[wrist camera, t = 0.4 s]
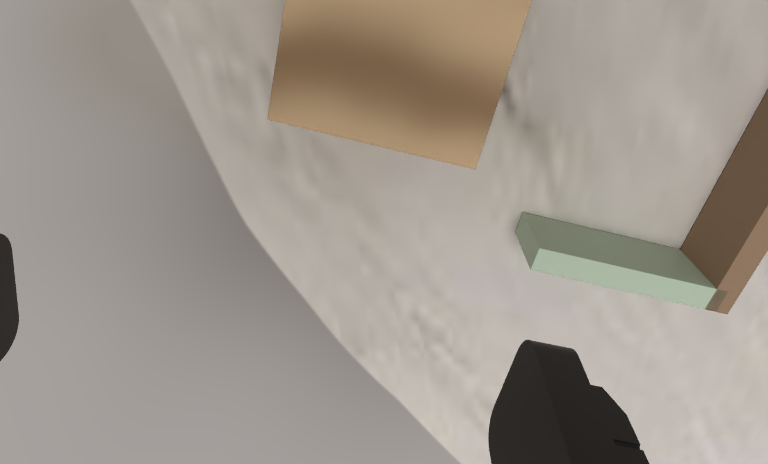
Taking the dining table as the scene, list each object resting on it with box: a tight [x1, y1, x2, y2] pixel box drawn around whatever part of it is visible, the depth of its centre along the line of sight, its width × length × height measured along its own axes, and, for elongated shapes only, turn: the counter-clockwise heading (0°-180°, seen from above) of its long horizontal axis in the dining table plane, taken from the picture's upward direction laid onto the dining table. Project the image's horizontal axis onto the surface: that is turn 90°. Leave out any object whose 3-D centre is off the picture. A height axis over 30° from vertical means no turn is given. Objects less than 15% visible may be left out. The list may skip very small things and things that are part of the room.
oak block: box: [267, 0, 532, 169], centre depth 29 cm, size 8×10×9 cm
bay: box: [515, 90, 768, 314], centre depth 32 cm, size 21×13×5 cm, turn 166°
